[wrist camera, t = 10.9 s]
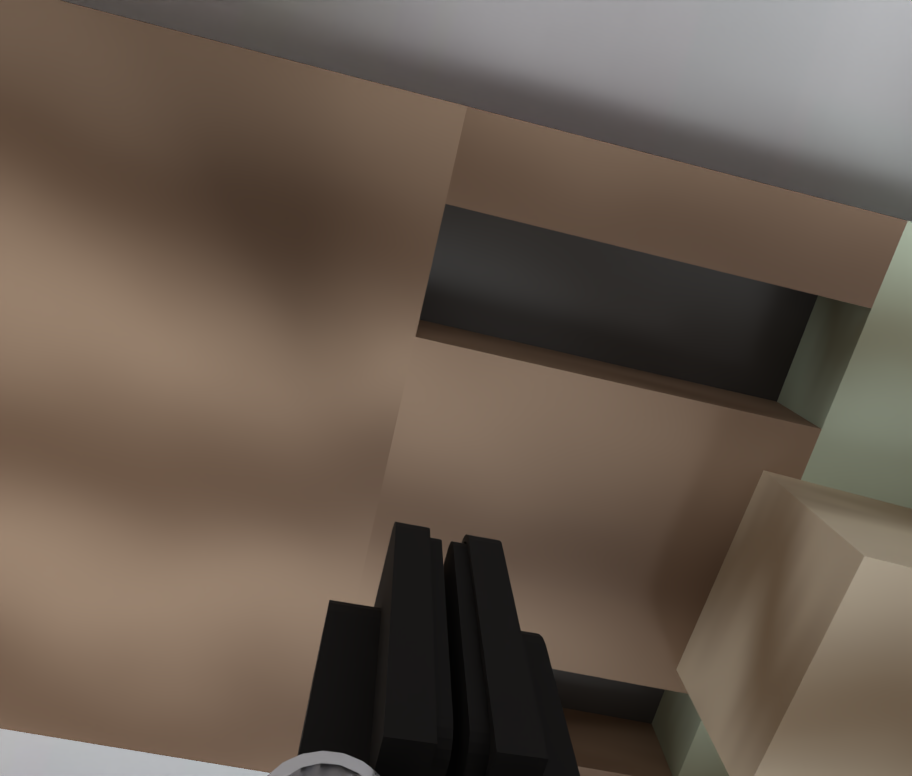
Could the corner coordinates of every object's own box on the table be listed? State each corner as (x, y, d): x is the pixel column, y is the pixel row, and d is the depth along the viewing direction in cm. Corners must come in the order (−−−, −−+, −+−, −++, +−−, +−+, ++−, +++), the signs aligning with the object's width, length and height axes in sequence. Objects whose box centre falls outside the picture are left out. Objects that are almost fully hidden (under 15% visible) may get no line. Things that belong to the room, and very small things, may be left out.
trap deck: (-334, -87, 14) (-775, -247, 9) (1050, 270, 17) (1314, 304, 12) (-279, 607, 19) (-548, 762, 14) (798, 794, 22) (910, 980, 17)
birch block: (763, 470, 16) (864, 556, 12) (980, 526, 17) (1141, 625, 13) (676, 669, 18) (741, 800, 14) (877, 714, 18) (993, 852, 14)
